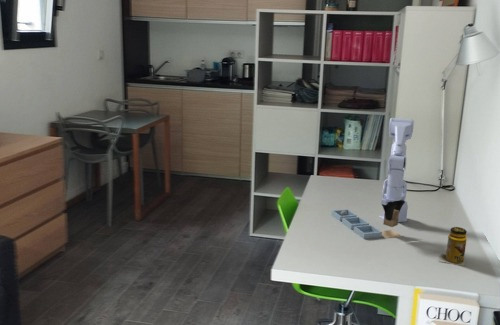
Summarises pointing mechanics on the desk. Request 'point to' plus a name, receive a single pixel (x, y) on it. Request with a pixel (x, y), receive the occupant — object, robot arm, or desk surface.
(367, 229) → the dish
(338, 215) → the dish
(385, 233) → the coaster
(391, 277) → the desk surface
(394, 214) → the letter block
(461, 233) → the condiment
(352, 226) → the dish
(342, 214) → the grey ball
